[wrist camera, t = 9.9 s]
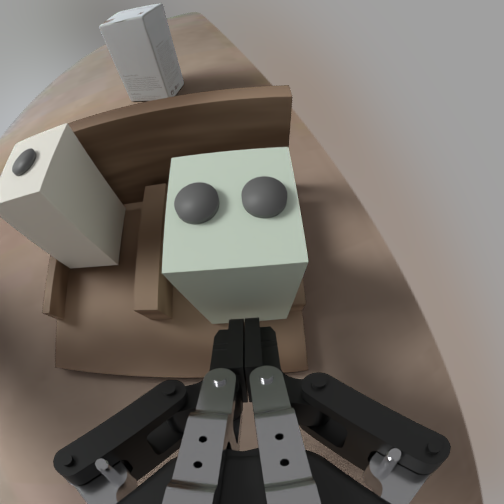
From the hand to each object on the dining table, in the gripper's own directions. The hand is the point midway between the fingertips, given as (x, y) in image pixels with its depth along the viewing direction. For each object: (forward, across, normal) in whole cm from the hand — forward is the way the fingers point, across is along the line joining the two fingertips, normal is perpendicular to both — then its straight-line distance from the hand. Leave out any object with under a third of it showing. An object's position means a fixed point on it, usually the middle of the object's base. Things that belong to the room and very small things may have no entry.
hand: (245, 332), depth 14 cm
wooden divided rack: (+7, +6, 0) cm, 10 cm away
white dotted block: (+9, +12, -3) cm, 15 cm away
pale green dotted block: (+6, 0, 0) cm, 6 cm away
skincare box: (+24, +10, -16) cm, 31 cm away
